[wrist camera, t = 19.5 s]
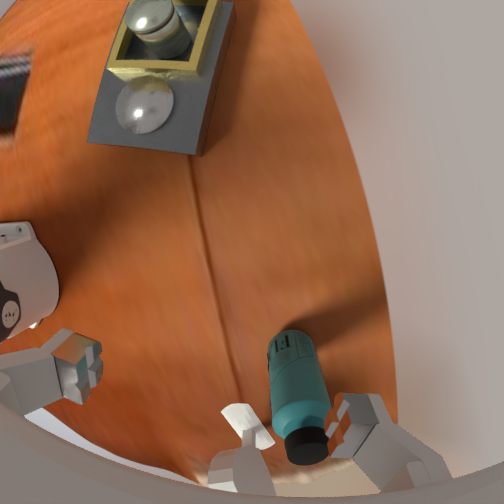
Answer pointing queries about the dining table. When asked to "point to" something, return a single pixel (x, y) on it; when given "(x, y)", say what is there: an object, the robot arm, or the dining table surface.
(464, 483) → the robot arm
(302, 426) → the beverage bottle
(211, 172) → the dining table surface
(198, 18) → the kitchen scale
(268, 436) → the white angular piece
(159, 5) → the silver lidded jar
